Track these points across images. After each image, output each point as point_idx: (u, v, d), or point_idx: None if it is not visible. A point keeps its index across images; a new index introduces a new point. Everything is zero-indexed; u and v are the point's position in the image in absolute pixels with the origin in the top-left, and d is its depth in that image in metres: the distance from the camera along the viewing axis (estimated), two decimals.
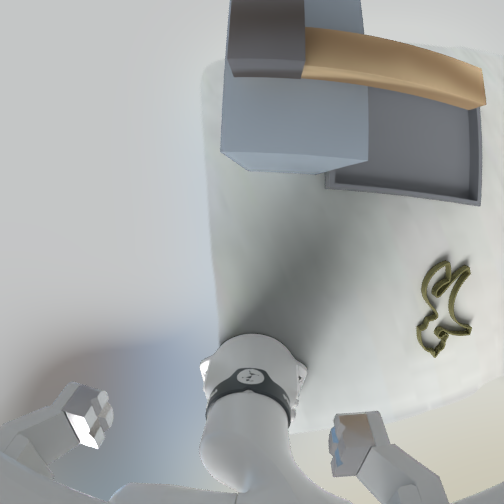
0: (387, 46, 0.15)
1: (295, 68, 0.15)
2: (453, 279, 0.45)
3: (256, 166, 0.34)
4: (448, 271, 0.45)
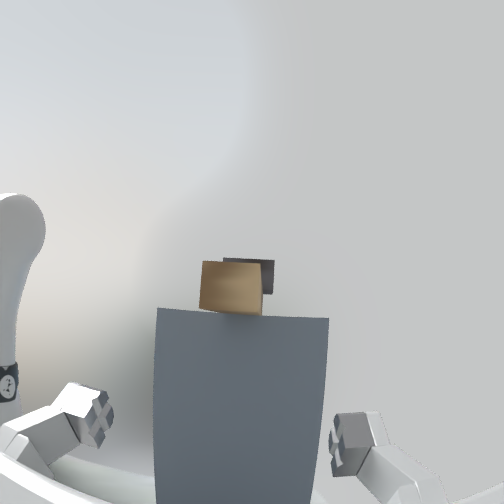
0: None
1: None
2: None
3: None
4: None
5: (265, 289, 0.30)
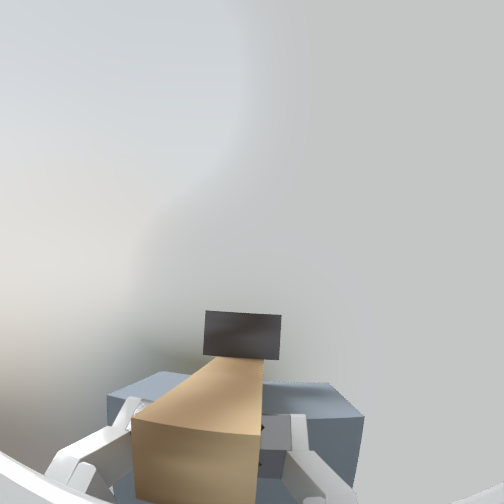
0: (249, 373, 0.14)
1: None
2: None
3: None
4: None
5: (267, 358, 0.20)
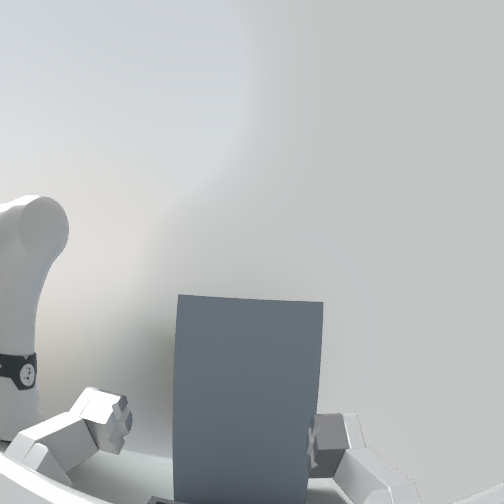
0: None
1: None
2: None
3: None
4: None
5: None
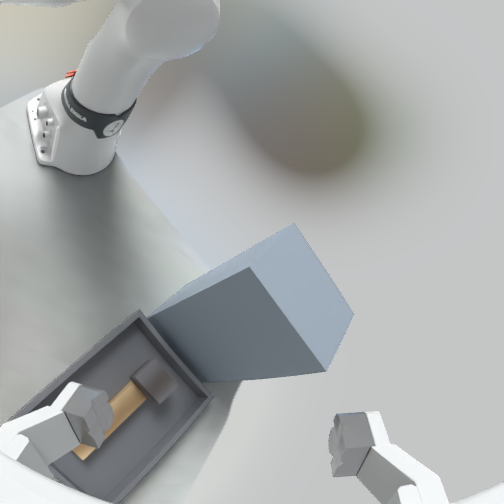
0: (117, 421, 0.35)
1: (134, 375, 0.38)
2: None
3: (215, 269, 0.45)
4: None
5: None
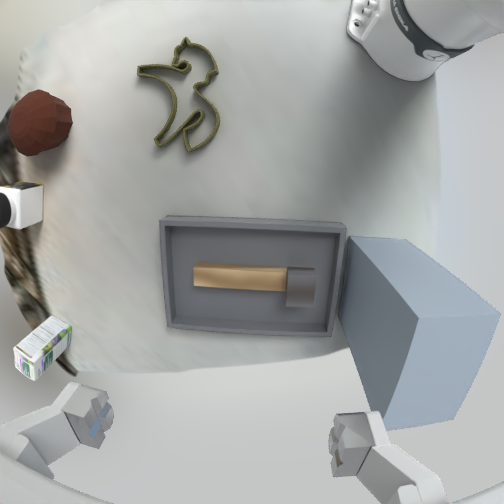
0: (247, 285, 0.47)
1: (290, 271, 0.44)
2: (178, 131, 0.42)
3: (427, 262, 0.36)
4: (186, 140, 0.43)
5: (285, 293, 0.47)
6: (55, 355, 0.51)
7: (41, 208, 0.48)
